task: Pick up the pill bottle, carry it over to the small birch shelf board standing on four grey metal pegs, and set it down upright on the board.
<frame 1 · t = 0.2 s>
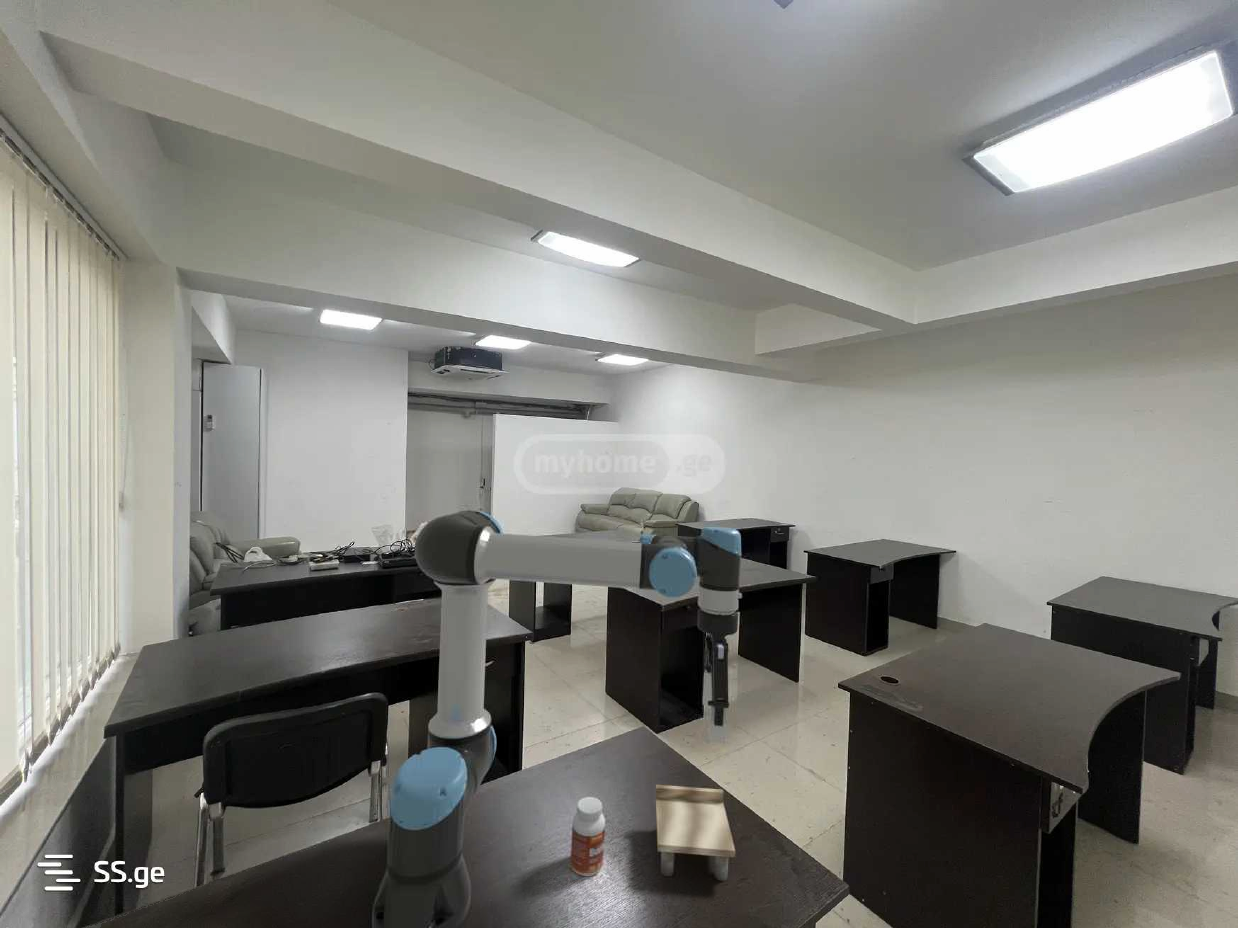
hand: (712, 721, 92), 27 cm above the table, fingers open, 13 cm apart
pill bottle: (586, 865, 92), on the table
peg shelf: (691, 852, 96), on the table
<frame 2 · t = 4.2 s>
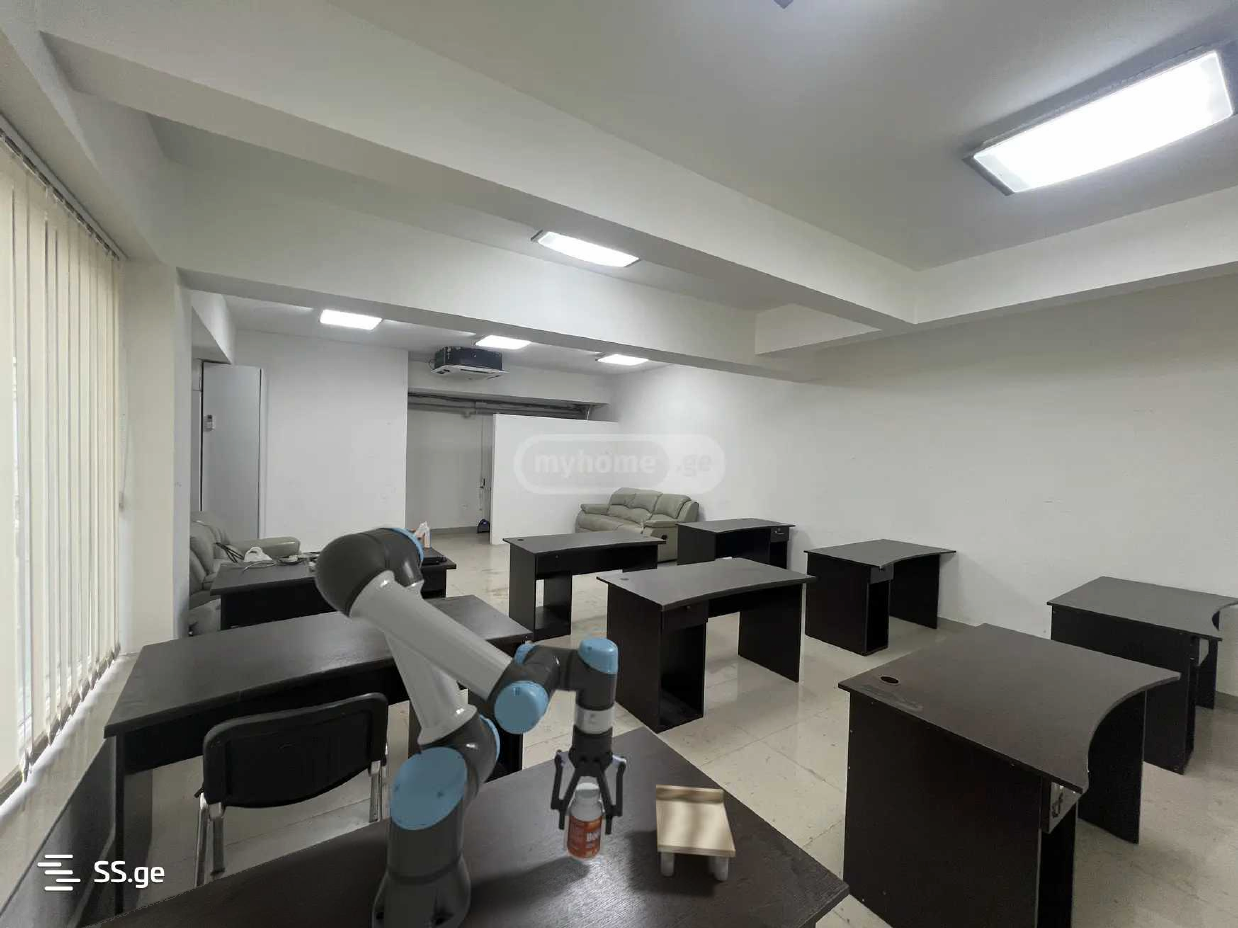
hand: (583, 847, 92), 3 cm above the table, fingers closed on pill bottle, 6 cm apart
pill bottle: (583, 850, 92), point 2 cm above the table, touching gripper
when the fingers open (8 cm above the table, at t = 7.9 s): pill bottle drops 1 cm, resting on peg shelf.
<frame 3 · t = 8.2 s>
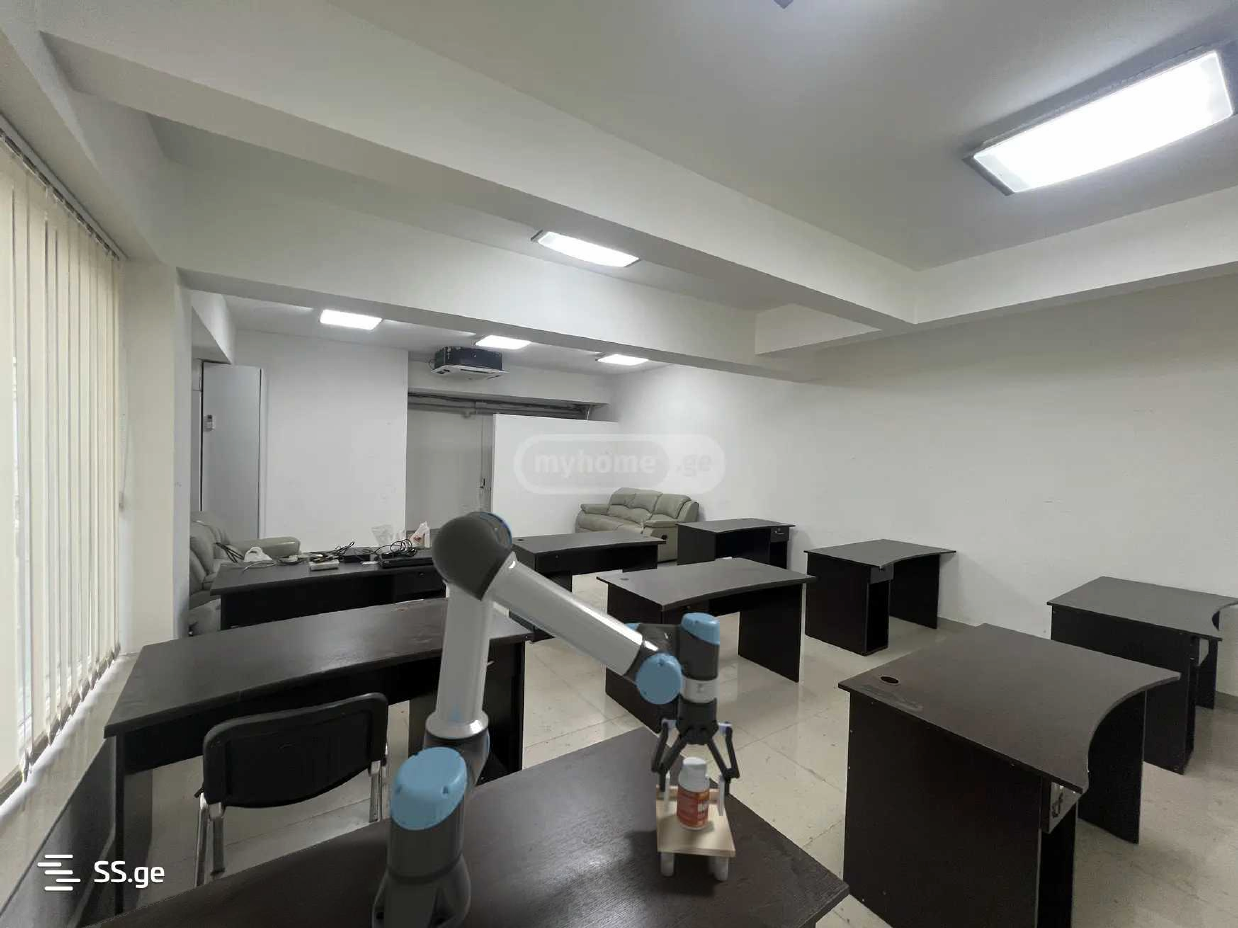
hand: (692, 808, 96), 8 cm above the table, fingers open, 10 cm apart
pill bottle: (691, 821, 96), point 6 cm above the table, touching peg shelf
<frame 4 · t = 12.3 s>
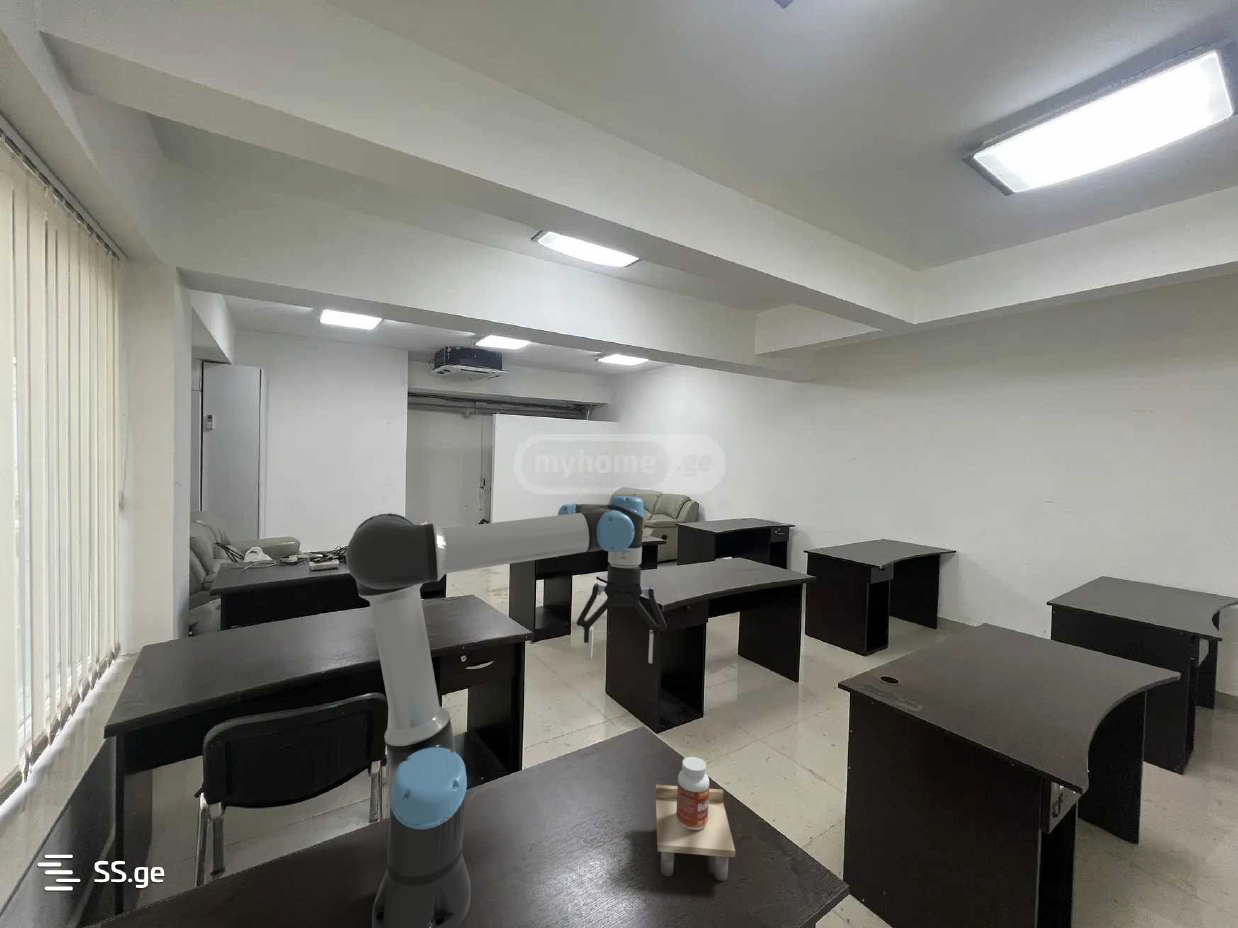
hand: (620, 659, 110), 32 cm above the table, fingers open, 13 cm apart
nothing on the table moved.
at the end: pill bottle inside the target area on the peg shelf (0.1 cm from its centre), point 6.0 cm above the peg shelf's base; pill bottle tilted 0°; the gripper is holding nothing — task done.
